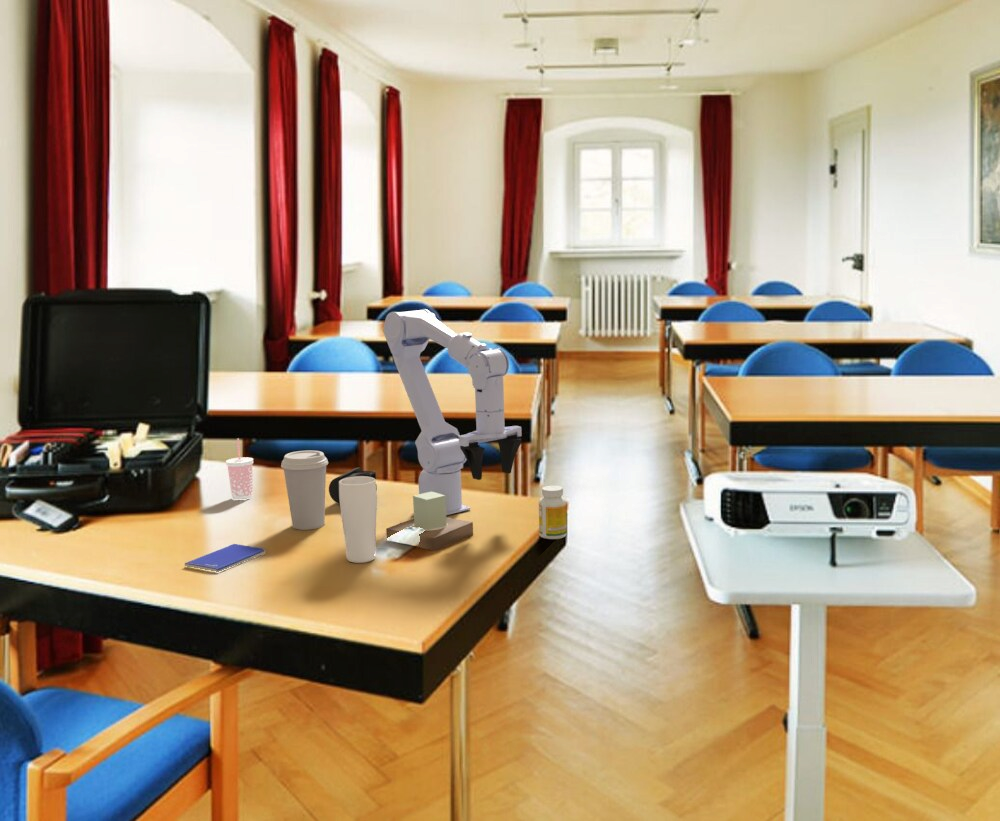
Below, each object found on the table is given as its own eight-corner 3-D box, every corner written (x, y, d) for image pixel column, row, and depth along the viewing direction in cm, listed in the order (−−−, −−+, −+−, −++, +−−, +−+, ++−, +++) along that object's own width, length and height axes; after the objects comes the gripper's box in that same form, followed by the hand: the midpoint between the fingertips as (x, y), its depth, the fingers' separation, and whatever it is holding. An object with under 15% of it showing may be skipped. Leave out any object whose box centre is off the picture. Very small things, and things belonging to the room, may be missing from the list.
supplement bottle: (533, 536, 198) (532, 488, 197) (551, 530, 202) (550, 483, 201) (555, 541, 195) (553, 492, 193) (572, 534, 199) (571, 487, 197)
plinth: (386, 541, 198) (386, 528, 198) (426, 525, 208) (425, 513, 207) (434, 550, 191) (434, 537, 191) (473, 534, 201) (472, 521, 200)
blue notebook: (217, 568, 182) (264, 548, 192) (184, 562, 186) (232, 543, 196) (218, 576, 182) (265, 556, 193) (185, 570, 186) (233, 550, 197)
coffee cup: (300, 535, 204) (295, 462, 201) (276, 525, 211) (271, 455, 208) (340, 524, 210) (336, 454, 207) (316, 516, 217) (312, 447, 215)
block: (414, 525, 199) (413, 495, 198) (432, 520, 202) (431, 491, 201) (427, 530, 196) (426, 499, 195) (446, 525, 199) (445, 495, 198)
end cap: (350, 495, 235) (348, 466, 233) (378, 496, 232) (376, 467, 231) (329, 506, 225) (327, 476, 224) (357, 508, 223) (356, 478, 222)
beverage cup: (244, 502, 230) (239, 442, 228) (223, 500, 233) (218, 440, 230) (261, 496, 236) (257, 436, 233) (240, 493, 238) (236, 435, 236)
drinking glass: (338, 557, 189) (334, 478, 187) (374, 551, 192) (369, 474, 189) (348, 567, 183) (343, 486, 180) (384, 561, 186) (380, 481, 183)
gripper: (472, 417, 197) (475, 485, 199) (530, 407, 206) (532, 472, 208) (451, 412, 202) (454, 479, 205) (508, 403, 211) (510, 467, 213)
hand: (492, 475), depth 207 cm, fingers open, 7 cm apart
